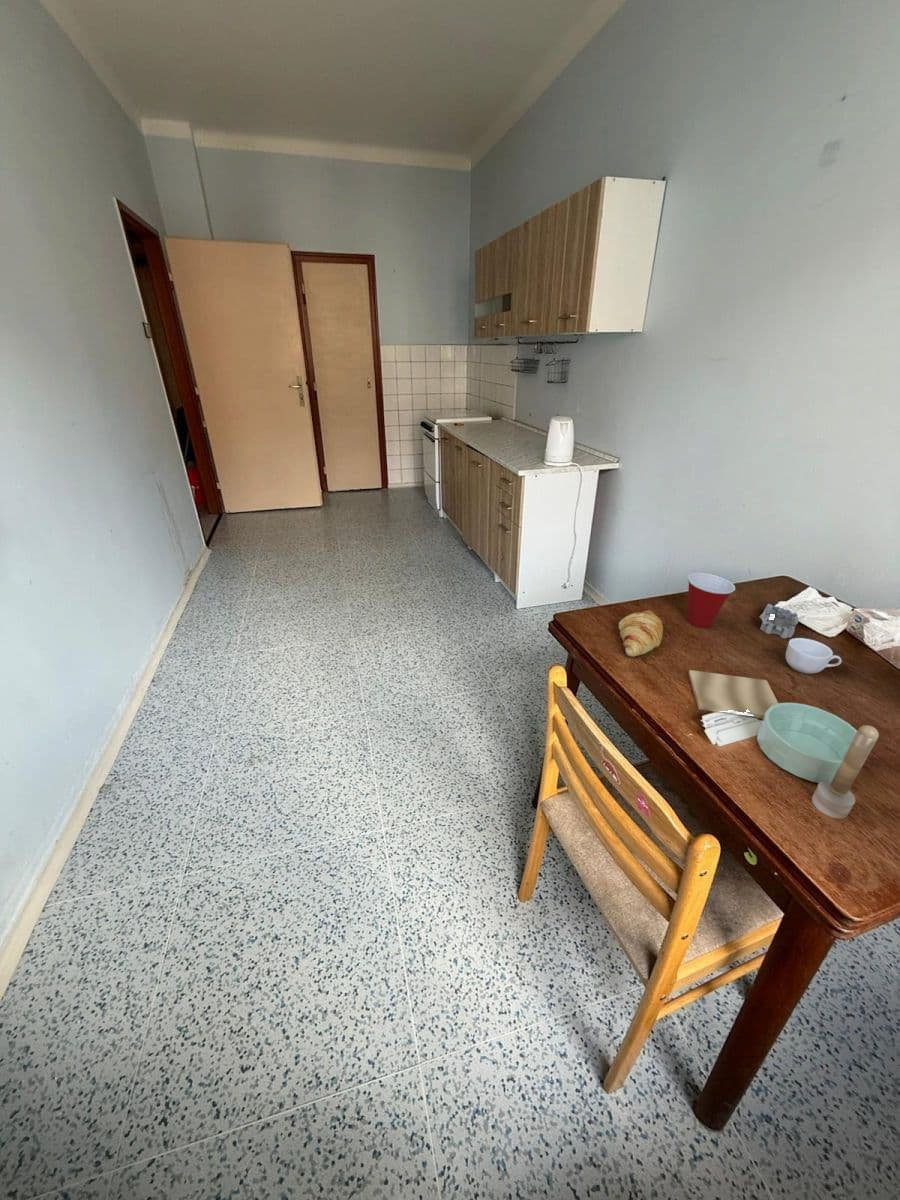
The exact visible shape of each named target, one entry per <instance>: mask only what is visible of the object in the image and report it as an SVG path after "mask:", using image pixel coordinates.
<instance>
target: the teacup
mask: <svg viewBox="0 0 900 1200" xmlns="http://www.w3.org/2000/svg"><path fill="white" fill-rule="evenodd" d="M834 659H838V661H837V662H836V663H829V662H830V661H832V660H834ZM785 660H786V663H787V664H788V666H789V667H791V668H792V670H794V671H796V672H799V673H801V674H807V675H810V674H811V675H812V674H818V673H819V672H822V671H823V670H824V669H825V668H832V667H837V666H840V665H841V664H842V658H841V657H840V656H839V655H836V654H834V652H833V650H832V648H830V647H829V646H828V645H826V644H824V643H822V642H821V641H817V640H814V639H811V638H804V637H795V638H792V639H789V641H788V644H787V647H786V651H785Z"/></svg>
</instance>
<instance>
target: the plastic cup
mask: <svg viewBox="0 0 900 1200" xmlns="http://www.w3.org/2000/svg"><path fill="white" fill-rule="evenodd" d="M687 582H688V595H687V615H686V616H687V617H686V619H687V622H688V624H690V625H692V626H694V627H696V628H702V629H707V628H710V627H712V625H713V624H714V623H715V620H716V618H717V616H718V615H719V614H720V611H721V610H722V608H723V606H724V604H725V603H726V601H727V599H728V598H729V596H730V595H731V594H732V593H734V592H735V591H736V586H735V584H734V583H732V581H731V580H729V579H726V578H724V577H722V576H720V575H716V574H712V573H707V572H692V573H690V574H688V576H687Z"/></svg>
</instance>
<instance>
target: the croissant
mask: <svg viewBox="0 0 900 1200" xmlns="http://www.w3.org/2000/svg"><path fill="white" fill-rule="evenodd" d="M618 629H619V636H620V638H621V640H622V645H623V647H624V648H625V654H626V655H627V656H628V657H632V658H633V657H637V656H641V655H645V654H647V653H649V652H651V651H653V649H655V648H657V647H660V645H661V642H662V639H663V634H664V626H663V622H662V620H661V618H660V617H658V615H656V614H655V612H654V611H653V610H650V609H645V610H643V611H638V612H633V613H630V614H628V615H626V616H625V617H623V618H622V619H621V620H619V622H618Z"/></svg>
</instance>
